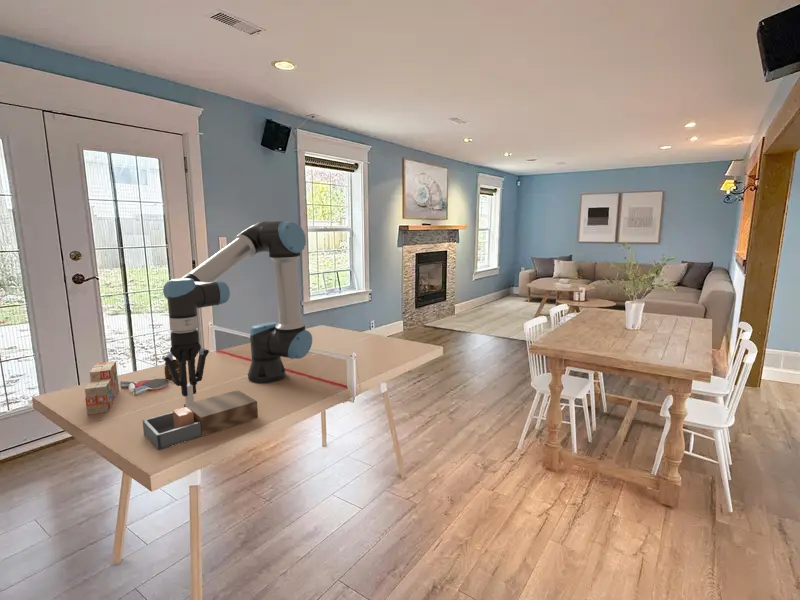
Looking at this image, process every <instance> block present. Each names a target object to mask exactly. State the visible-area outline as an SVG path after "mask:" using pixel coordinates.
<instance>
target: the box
mask: <svg viewBox="0 0 800 600" xmlns="http://www.w3.org/2000/svg"><path fill="white" fill-rule="evenodd" d="M142 428H143V435H144V436H145V437H146V438H147V439H148V440H149V442H150V443H151V444H152V445H153V446H154V448H156V450H157V451H161V450H164V449H168V448H170V446H171V447H173V446H172V445H174V446H176V445H175V444H177V445H179V444H178V443H180V444H182V443H181V442H183V443H185V442H184V441H186V442H189V441H192V440H195V439H198V438H197V437H199V438H201V437H202V436H201V424H200V422H197V423H193V424H190V425H186V426H183V427H180V428H176V429H174V421H173V411H171V412H167V413H164V414H159V415H156V416H152V417H148V418H146V419H145V418H144V419H142ZM200 436H201V437H200ZM194 438H195V439H194ZM191 439H192V440H191ZM188 440H189V441H188Z"/></svg>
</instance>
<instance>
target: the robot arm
mask: <svg viewBox="0 0 800 600" xmlns="http://www.w3.org/2000/svg"><path fill="white" fill-rule="evenodd" d="M306 242H307V239H306V234H305V231H304V229H303V228H302V226H301V225H299V223H297V222H295V221H288V220H284V221H283V220H282V221H278V220H277V221H276V220H275V221H265V220H264V221H260V222H257V223H255V224H252V225H251V226H249V227H248V228H246V229H244V230H243V231H241V232H239V233H238V234H236V235H235V236H234V238H233V241H232V242H230V243H229V244H227V245H226V246H225V247H223V248H221V249H220V250H219V251H218V252H217V251H216V253H215V254H213V255H212V256H211V257H209V258H207V259H206V260H205V261H203V262H202V263H200V264H199V265H198V266H197V267H195V268H193V269H191V270H190V271H189V272H188V273H186V274H184V276H182V277H180V278H172V279H170V280H167V281H166V283H164V285H163V288H162V292H163V296H164V298H165V299H166V300H167V308H168V317H169V318H168V319H169V321H168V322H169V330H170V344H171V345H170V349H169V352H168V353H166V355H162V357H161V358H162V360H163V361H164V363H165V362H166V363H167V366H168V368H169V371H170V374H171V376H172V379H171V380H172V381H173V384H175V385H176V386H177V387H180V388H181V389H180V390H181V395H182V396H183V397H184V398H185V399H184V400H185V404H186V405H187V406H189V407H190V406H194V402H195V400H194V398H195V397H194V395H195V394H197V385H198V382H200V381H203V375H204V370H205V366H206V365H205V364H206V358H207V356H208V354H209V352H210V350H209V349H207V348H203V347H202V346H201V344H200V337H199V336H200V335H199V330H198V328H199V326H198V309H201V308H207V307H212V306H219V305H223V304H226V303H228V301H229V299H230V297H231V292H230V287H229V286H228V285H227V283H226V282H224V281H221V280H220V281H219V279H220V278H221V277H223V276H224V275H225V274H227V273H229V272H230V271H231V270H232V269H233V268H235V267H236V266H237V265H239V264H240V263H241V262H243V261H244V260H246V259H247V258H252V257H254V256H256V254H259V253H262V252H263V253H265V252H268V257H269V259H270V260H271V261H272V262H273V265H274V279H275V292H276V303H277V304H276V305H277V316H278V317H277V318H278V321H271V322H263V323H258V324H254V325H252V326H251V328H250V331H249V332H250V333H249V334H250V335H249V337H250V338H249V341H250V351H251V353H250V354H251V363H250V366H249V370H248V373H247V378H248V379H249V380H248V379H247V380H248V381H249V382H251V383H256V384H267V383H269V384H271V383H275V382H278V380H279V381H281V380H283V379H285V378H286V377H287V376H286V374H287V373H286V368H285V365H284V364H283V361H282V357H283V358H286V359H287V358H288V359H291V360H292V359H293V360H294V359H297V360H301V359H303V358H304V357H306V356H307V355H308V353H309V351H310V350H311V347H312V344H313V335H312V333H311V332H310V331H309V330H306V323H305V322H304V321H302V318H301V317H302V316H301V303H300V302H301V301H300V287H299V274H298V260H299V258H300V257H301V252H302V251H304V249H305V246H306V244H307V243H306ZM198 354H199V355H198ZM197 356H198V360H197V363H196V357H197ZM173 357H174V358H175V359H177V360H178V363H179V372H180V377H178V374H177V371H176V369H175V366H174V363H173V362H172V360H174V358H173ZM196 364H197V366H196ZM187 368H188V374H187ZM187 375H188V376H187ZM284 377H285V378H284Z"/></svg>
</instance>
